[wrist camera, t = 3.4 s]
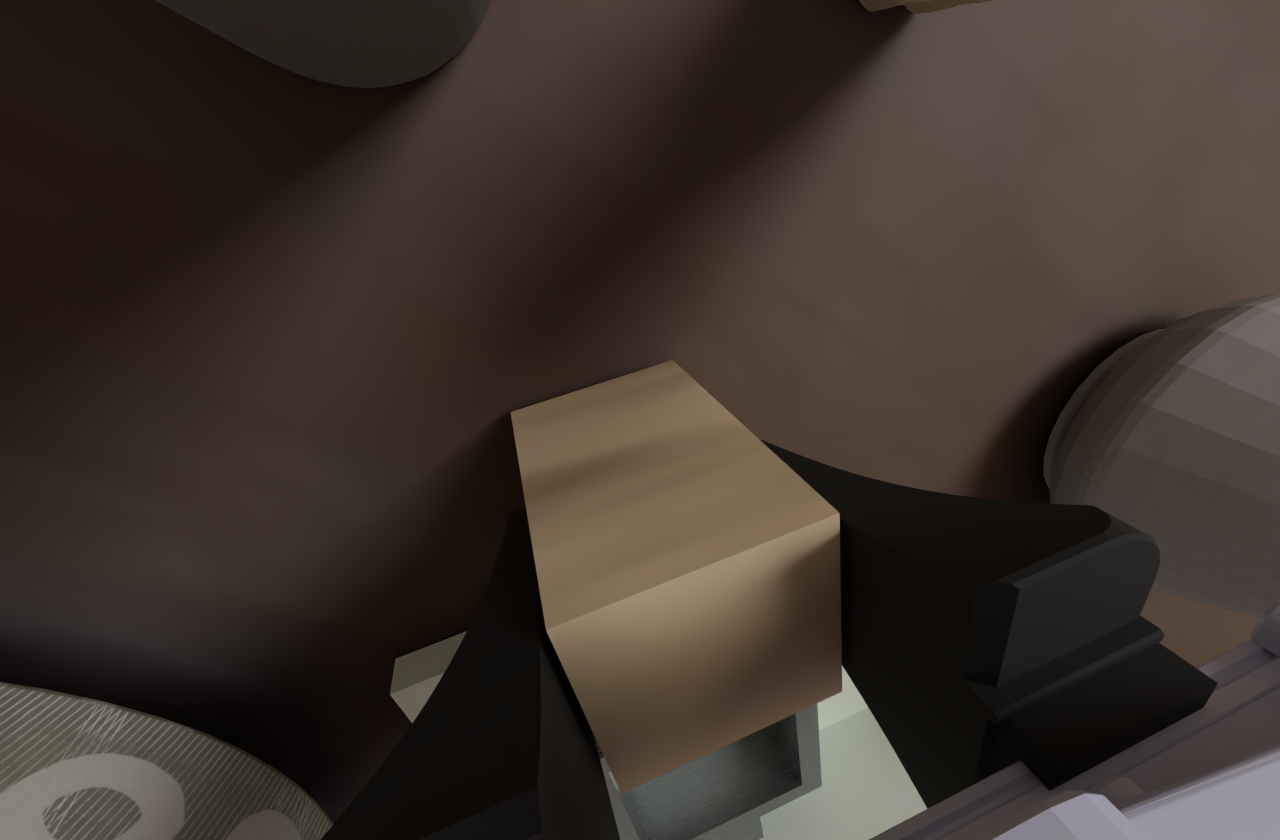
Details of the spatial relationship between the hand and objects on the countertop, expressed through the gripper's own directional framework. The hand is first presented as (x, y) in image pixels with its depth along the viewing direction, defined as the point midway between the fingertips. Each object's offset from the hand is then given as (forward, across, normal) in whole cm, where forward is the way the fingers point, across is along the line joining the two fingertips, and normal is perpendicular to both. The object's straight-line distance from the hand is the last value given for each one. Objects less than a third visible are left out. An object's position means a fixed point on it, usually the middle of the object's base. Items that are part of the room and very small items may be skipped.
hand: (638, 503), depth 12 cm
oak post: (+2, 0, 0) cm, 2 cm away
